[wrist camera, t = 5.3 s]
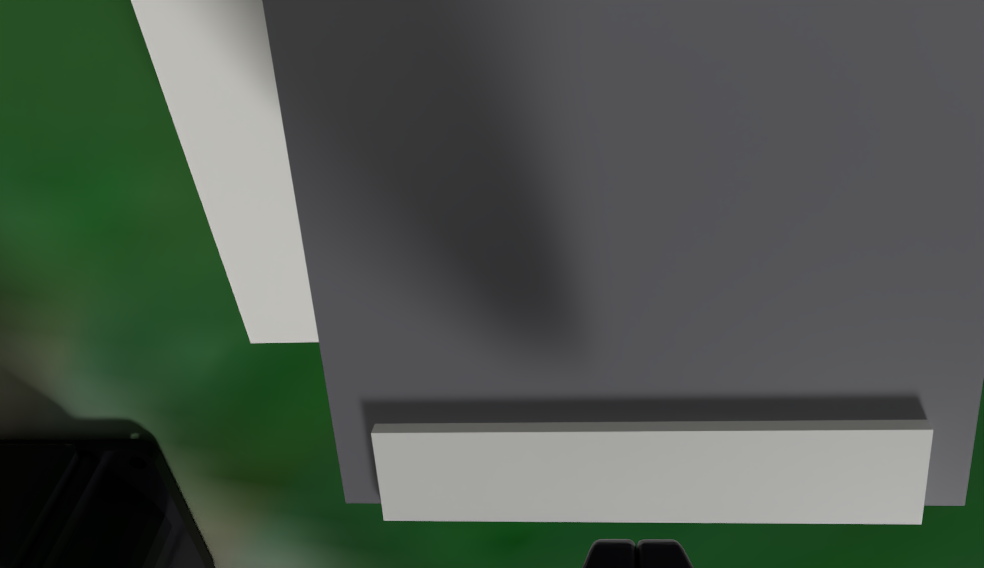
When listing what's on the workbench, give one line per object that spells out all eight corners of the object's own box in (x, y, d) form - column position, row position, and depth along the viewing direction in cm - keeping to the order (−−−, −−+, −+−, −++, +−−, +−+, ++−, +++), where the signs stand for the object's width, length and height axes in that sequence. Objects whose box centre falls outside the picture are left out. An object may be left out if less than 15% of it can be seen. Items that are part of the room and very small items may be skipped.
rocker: (899, 401, 12) (969, 524, 10) (389, 407, 13) (342, 520, 11) (1019, -702, 8) (1194, -949, 6) (253, -584, 9) (127, -751, 7)
